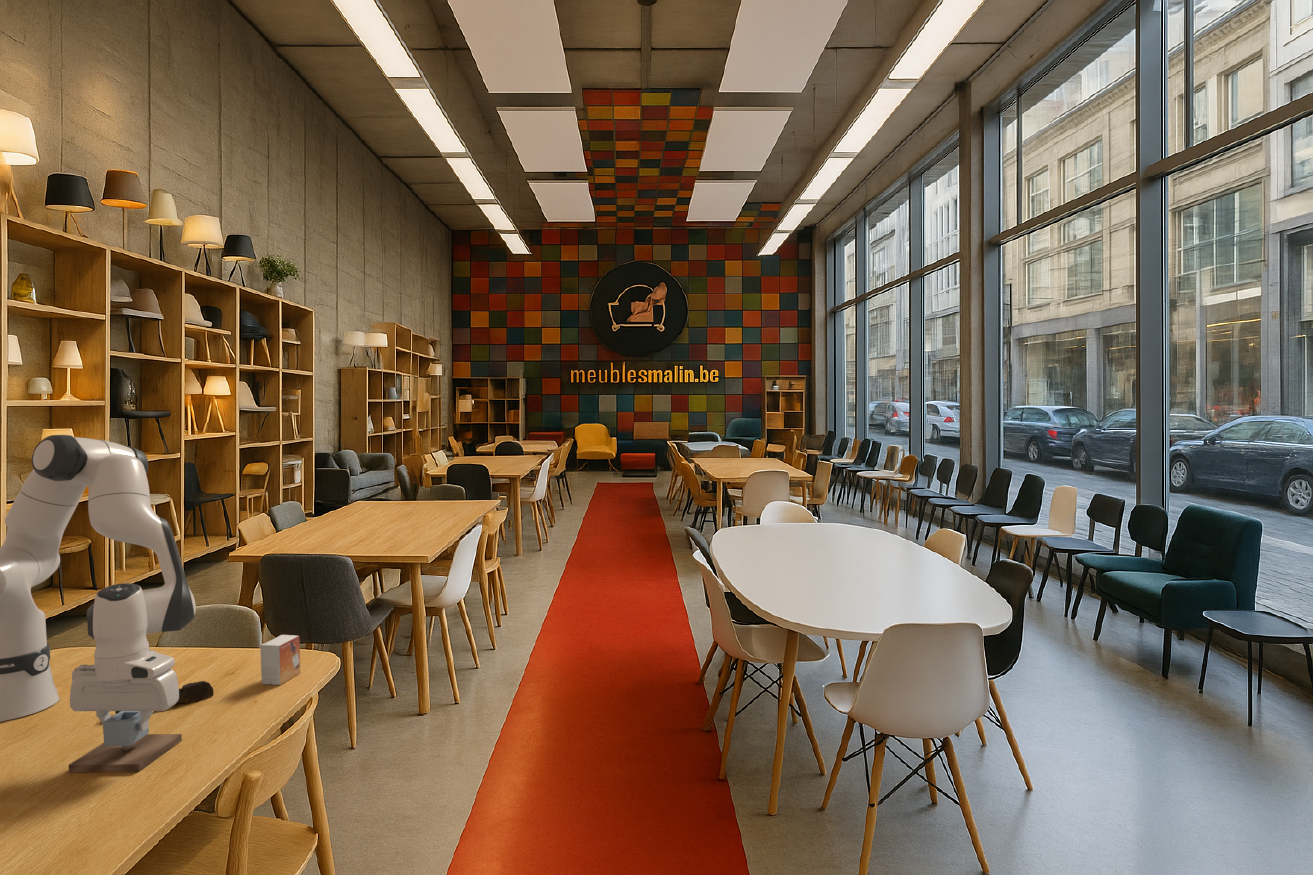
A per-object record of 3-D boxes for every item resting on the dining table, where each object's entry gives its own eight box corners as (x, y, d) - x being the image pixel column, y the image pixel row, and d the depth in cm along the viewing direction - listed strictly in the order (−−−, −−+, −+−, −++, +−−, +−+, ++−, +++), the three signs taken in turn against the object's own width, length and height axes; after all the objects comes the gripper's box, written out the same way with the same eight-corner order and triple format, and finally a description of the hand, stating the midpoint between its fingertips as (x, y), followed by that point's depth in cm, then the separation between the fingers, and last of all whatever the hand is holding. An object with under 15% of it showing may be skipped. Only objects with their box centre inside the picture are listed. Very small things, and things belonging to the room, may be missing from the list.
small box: (280, 685, 173) (278, 645, 172) (261, 684, 174) (259, 644, 173) (301, 673, 181) (300, 635, 180) (282, 671, 182) (281, 633, 181)
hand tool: (114, 721, 155) (113, 702, 154) (117, 714, 158) (116, 695, 158) (212, 701, 165) (212, 683, 164) (213, 695, 168) (212, 677, 168)
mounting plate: (68, 772, 133) (67, 746, 133) (117, 741, 145) (115, 717, 145) (139, 771, 133) (138, 745, 133) (181, 740, 145) (180, 716, 145)
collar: (104, 745, 136) (102, 722, 136) (124, 732, 142) (122, 709, 141) (129, 745, 137) (128, 721, 136) (148, 732, 142) (147, 709, 141)
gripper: (58, 670, 135) (62, 737, 136) (160, 670, 135) (164, 736, 136) (85, 658, 141) (88, 722, 142) (182, 658, 141) (185, 721, 142)
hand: (126, 729), depth 139 cm, fingers closed on collar, 5 cm apart
